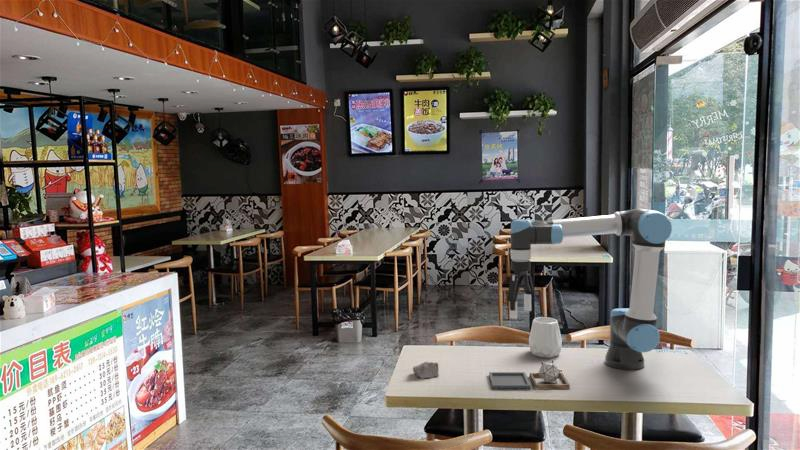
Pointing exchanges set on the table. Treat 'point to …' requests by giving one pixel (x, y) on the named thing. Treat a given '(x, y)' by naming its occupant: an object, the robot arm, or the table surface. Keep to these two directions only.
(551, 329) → the vase
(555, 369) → the game die
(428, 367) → the stone
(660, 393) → the table surface
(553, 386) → the corral
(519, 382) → the tray
